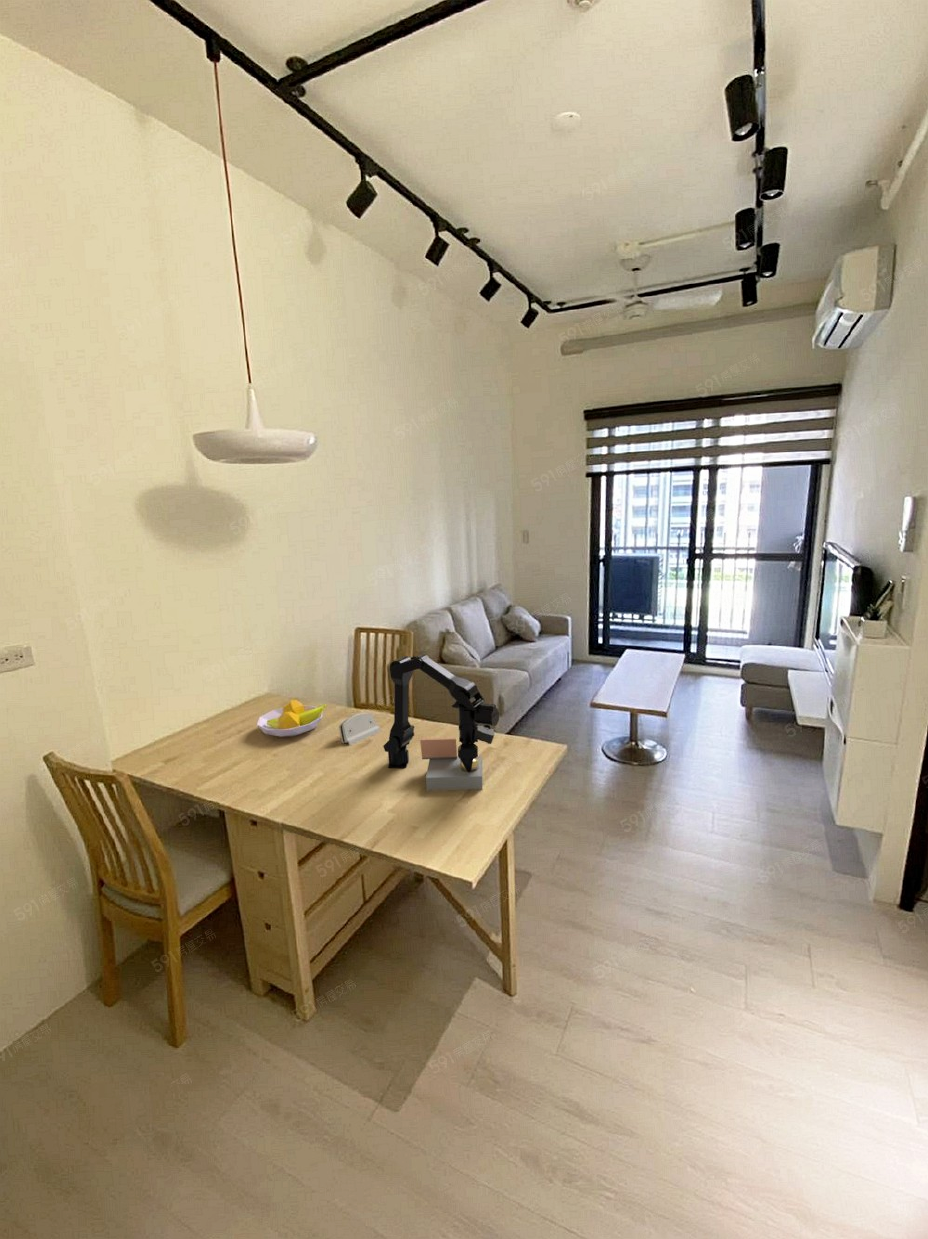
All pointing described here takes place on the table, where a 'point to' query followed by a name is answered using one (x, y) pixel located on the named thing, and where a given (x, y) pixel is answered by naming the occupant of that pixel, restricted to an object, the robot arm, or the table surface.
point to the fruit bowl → (290, 719)
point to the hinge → (358, 728)
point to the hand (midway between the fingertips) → (469, 765)
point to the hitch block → (452, 775)
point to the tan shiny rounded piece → (474, 765)
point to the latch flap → (438, 748)
